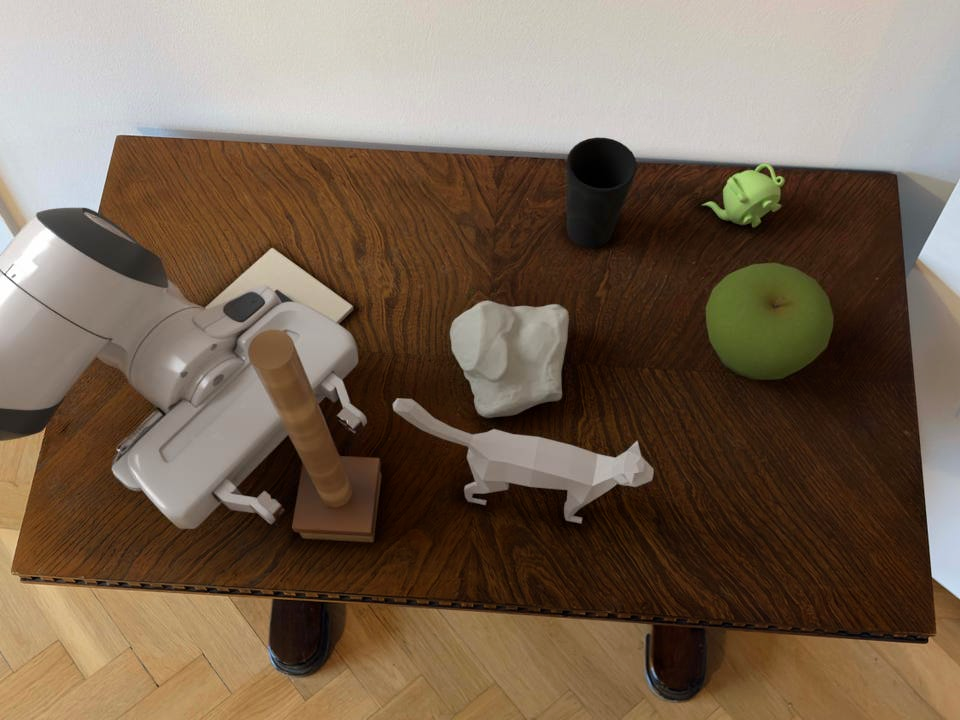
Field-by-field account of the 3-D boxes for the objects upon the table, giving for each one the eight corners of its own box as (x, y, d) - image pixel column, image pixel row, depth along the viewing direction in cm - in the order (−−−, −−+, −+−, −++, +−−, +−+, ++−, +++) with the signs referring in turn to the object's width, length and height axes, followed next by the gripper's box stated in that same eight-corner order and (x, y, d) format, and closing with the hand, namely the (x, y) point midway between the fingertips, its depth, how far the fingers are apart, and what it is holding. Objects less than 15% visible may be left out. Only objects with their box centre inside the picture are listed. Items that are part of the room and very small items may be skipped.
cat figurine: (630, 537, 71) (662, 480, 59) (399, 490, 73) (383, 425, 61) (636, 488, 73) (669, 422, 61) (412, 443, 75) (398, 370, 63)
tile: (272, 389, 78) (271, 386, 77) (191, 324, 81) (189, 321, 80) (354, 309, 82) (353, 306, 81) (273, 250, 85) (272, 247, 84)
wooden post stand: (375, 545, 71) (319, 403, 46) (299, 540, 71) (202, 397, 46) (384, 472, 74) (335, 303, 49) (311, 469, 74) (225, 298, 49)
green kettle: (750, 184, 89) (766, 147, 84) (781, 221, 86) (799, 185, 81) (701, 206, 87) (714, 169, 82) (730, 244, 85) (746, 208, 80)
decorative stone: (475, 435, 74) (447, 333, 69) (462, 389, 82) (436, 295, 78) (595, 402, 74) (575, 298, 70) (570, 359, 82) (550, 264, 78)
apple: (795, 303, 82) (833, 242, 73) (817, 402, 77) (861, 349, 68) (683, 305, 82) (708, 244, 73) (698, 404, 77) (727, 351, 68)
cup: (547, 239, 85) (554, 173, 77) (575, 195, 88) (585, 127, 79) (604, 265, 84) (618, 201, 75) (631, 220, 87) (648, 153, 78)
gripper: (82, 447, 63) (209, 562, 59) (277, 270, 71) (401, 361, 67) (114, 477, 69) (232, 583, 65) (292, 310, 76) (407, 396, 72)
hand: (319, 469), depth 66 cm, fingers open, 8 cm apart
